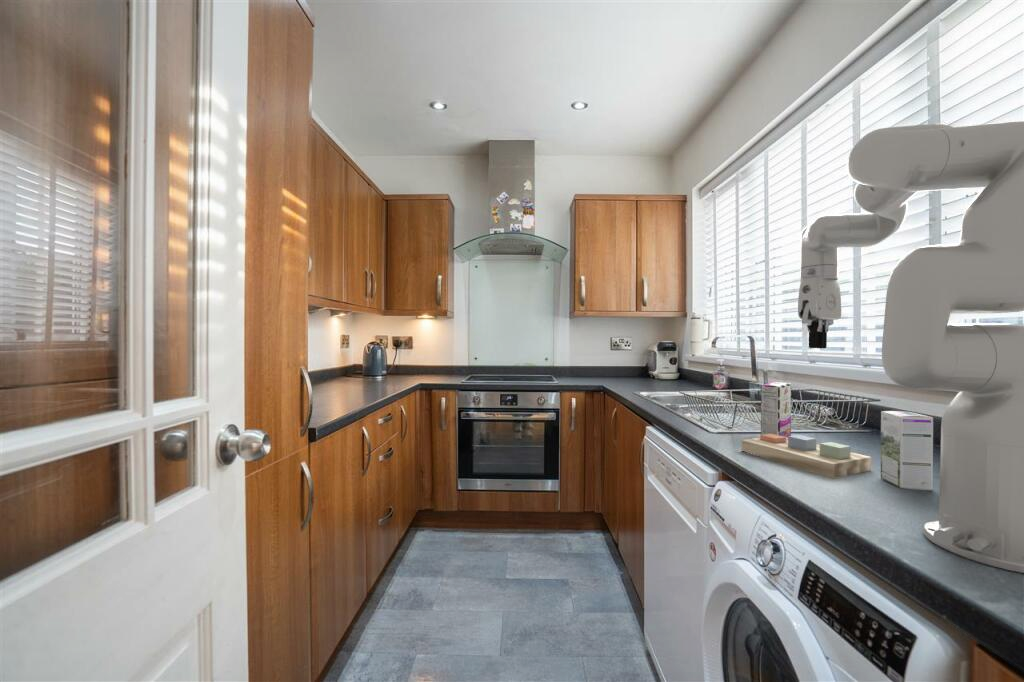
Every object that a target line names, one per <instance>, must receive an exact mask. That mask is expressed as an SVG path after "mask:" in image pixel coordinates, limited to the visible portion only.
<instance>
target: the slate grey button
mask: <svg viewBox="0 0 1024 682" xmlns="http://www.w3.org/2000/svg"><path fill="white" fill-rule="evenodd" d="M816 444H817V438H815V437H810V436H805V435H800V434H796V435H795V434H794V435H791V436H788V447H791V448H795V449H799V450H803V451H811V450H816Z"/></svg>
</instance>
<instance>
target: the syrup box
mask: <svg viewBox="0 0 1024 682" xmlns="http://www.w3.org/2000/svg"><path fill="white" fill-rule="evenodd" d="M933 455H934V417H932V416H929V415H925V414H920V413H915V412H912V411H903V410H883V411H882V410H881V411H880V479H881V480H884V481H886V482H888V483H890V484H892V485H894V486H896V487H898V488H900V489H906V490H918V491H920V490H921V491H933V488H934V485H933V484H934V481H933V478H934V471H933V470H934V456H933Z"/></svg>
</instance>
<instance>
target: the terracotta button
mask: <svg viewBox="0 0 1024 682" xmlns="http://www.w3.org/2000/svg"><path fill="white" fill-rule="evenodd" d="M759 438H760V440H763V441H767V442H771V443H775V444H778V443H785V442H786V437H783V436H779V435H775V434H763V435H761V434H760V436H759Z"/></svg>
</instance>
